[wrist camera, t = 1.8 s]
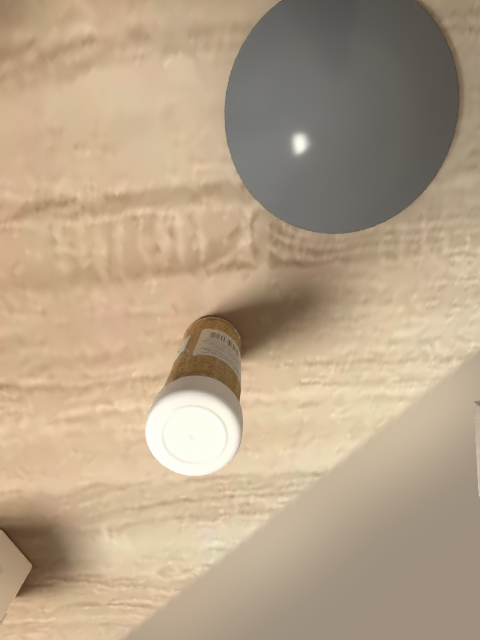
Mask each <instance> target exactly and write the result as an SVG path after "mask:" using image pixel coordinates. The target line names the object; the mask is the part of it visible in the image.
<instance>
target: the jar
mask: <svg viewBox="0 0 480 640" xmlns="http://www.w3.org/2000/svg"><path fill="white" fill-rule="evenodd" d="M0 564H1V566H2V569H3V572H2V573H1V575H0V626H1V624H2V623H3V620H4V619H5V618H6V616H7V611H8V610H9V608H10V606H11V604H12V603H13V601H14V599H15V597H16V596H17V594H18V592H19V590H20V588H21V587H22V585H23V583H24V581H25V580H26V578H27V576H28V574H29V572H30V571H31V569H32V564H31V563H30V562H29V561H28V559H27V558H26V557H25V556H24V555H23V554H22V553H21V551H20V550H19V549H18V548H17V547H16V546H15V544H14V543H13V542H12V541H11V540H10V539H9V537H8V536H7V535H6V534H5V533H4V532H3V531H2V530H0Z"/></svg>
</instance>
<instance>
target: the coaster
mask: <svg viewBox="0 0 480 640" xmlns="http://www.w3.org/2000/svg"><path fill="white" fill-rule="evenodd" d="M458 106H459V87H458V79H457V72H456V67H455V64H454V60H453V57H452V53H451V51H450V48H449V46H448V44H447V41H446V39H445V37H444V35H443V34H442V32H441V30H440V29H439V27H438V25H437V24H436V22H435V21H434V20H433V19H432V18H431V16H430V15H429V14H428V13H427V11H426V10H425V9H423V8H422V7H421V6H420V5H419V4H418V3H417V2H416V1H415V0H282V1H280V2H279V3H278V4H276V5H275V6H274V7H273V8H272V9H271V10H270V11H269V12H267V13H266V14H265V15H264V16H263V17H262V18H261V20H260V21H259V22H258V23H257V24H256V26H255V27H254V28H253V29H252V31H251V32H250V34H249V35H248V37H247V38H246V40H245V42H244V43H243V45H242V47H241V49H240V51H239V53H238V55H237V57H236V59H235V62H234V65H233V68H232V71H231V74H230V77H229V82H228V86H227V91H226V99H225V130H226V136H227V142H228V146H229V150H230V154H231V157H232V160H233V163H234V165H235V167H236V170H237V172H238V174H239V176H240V178H241V180H242V181H243V183H244V185H245V186H246V188H247V189H248V190H249V192H250V193H251V194H252V195H253V197H254V198H255V199H256V200H257V201H258V202H259V203H260V204H261V205H262V206H263V207H264V208H265V209H267V210H268V211H269V212H270V213H272V214H273V215H274V216H276V217H278V218H279V219H281V220H283V221H285V222H286V223H289V224H291V225H294V226H296V227H299V228H301V229H305V230H309V231H313V232H318V233H328V234H338V233H349V232H356V231H360V230H364V229H367V228H370V227H373V226H376V225H378V224H380V223H382V222H385V221H387V220H388V219H390V218H392V217H393V216H395V215H397V214H398V213H400V212H401V211H402V210H404V209H405V208H406V207H408V206H409V205H410V204H411V203H412V202H413V201H414V200H415V199H416V198H418V197H419V196H420V195H421V194H422V193H423V191H424V190H425V189H426V188H427V186H428V185H429V184H430V183H431V181H432V180H433V178H434V177H435V175H436V174H437V172H438V171H439V169H440V167H441V166H442V163H443V161H444V159H445V157H446V155H447V153H448V151H449V148H450V145H451V142H452V139H453V136H454V132H455V127H456V123H457V116H458Z"/></svg>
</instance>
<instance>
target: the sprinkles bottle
mask: <svg viewBox="0 0 480 640" xmlns="http://www.w3.org/2000/svg"><path fill="white" fill-rule="evenodd" d="M241 348H242V342H241V337H240V335H239V332H238V331H237V330H236V328H235V327H234V326H233V325H232V324H231V323H230V322H228V321H227V320H224V319H222V318H219V317H205V318H201V319H198V320H197V321H195V322H194V323H193V324H192V325H191V326H190V327H189V328H188V329H187V331H186V332H185V335H184V338H183V343H182V344H181V346H180V348H179V350H178V353H177V355H176V357H175V360H174V362H173V366H172V370H171V372H170V375H169V377H168V379H167V381H166V384H165V387H164V388H163V389H162V390H161V391H160V392H159V393H158V395H157V396H156V398H155V400H154V402H153V404H152V407H151V409H150V412H149V414H148V417H147V421H146V427H145V434H146V440H147V444H148V446H149V448H150V451H151V452H152V454H153V455H154V456H155V458H156V459H157V460H158V461H159V462H160V463H161V464H162V465H164V466H165V467H167V468H168V469H170V470H172V471H174V472H177V473H180V474H184V475H191V476H199V475H206V474H210V473H213V472H215V471H218V470H219V469H221V468H223V467H224V466H226V465H227V464H228V463H229V462H230V461H231V460H232V459H233V457H234V456H235V455H236V453H237V451H238V449H239V447H240V444H241V439H242V428H243V416H242V409H241V406H240V402H239V401H240V394H241V355H240V353H241Z"/></svg>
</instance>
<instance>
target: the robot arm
mask: <svg viewBox="0 0 480 640" xmlns="http://www.w3.org/2000/svg"><path fill="white" fill-rule="evenodd" d="M474 415H475V433H476V452H477V472H478V489H479V497H480V401H475V402H474ZM2 572H3V569H2V566H1V564H0V575H1V573H2Z"/></svg>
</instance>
